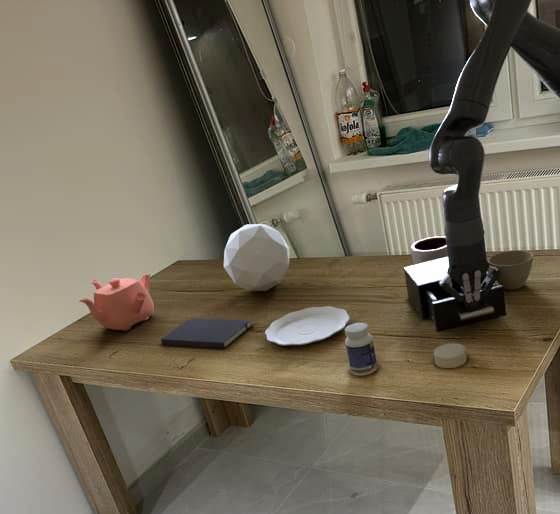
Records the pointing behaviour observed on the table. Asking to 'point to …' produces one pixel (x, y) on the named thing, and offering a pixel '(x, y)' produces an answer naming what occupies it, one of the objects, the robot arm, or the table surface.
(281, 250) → the ball
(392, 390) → the table surface
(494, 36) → the robot arm
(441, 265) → the cabinet
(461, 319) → the drawer
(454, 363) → the grey round puck
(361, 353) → the pill bottle
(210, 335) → the notebook
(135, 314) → the teapot
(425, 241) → the planter
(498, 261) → the flower pot
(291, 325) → the plate
